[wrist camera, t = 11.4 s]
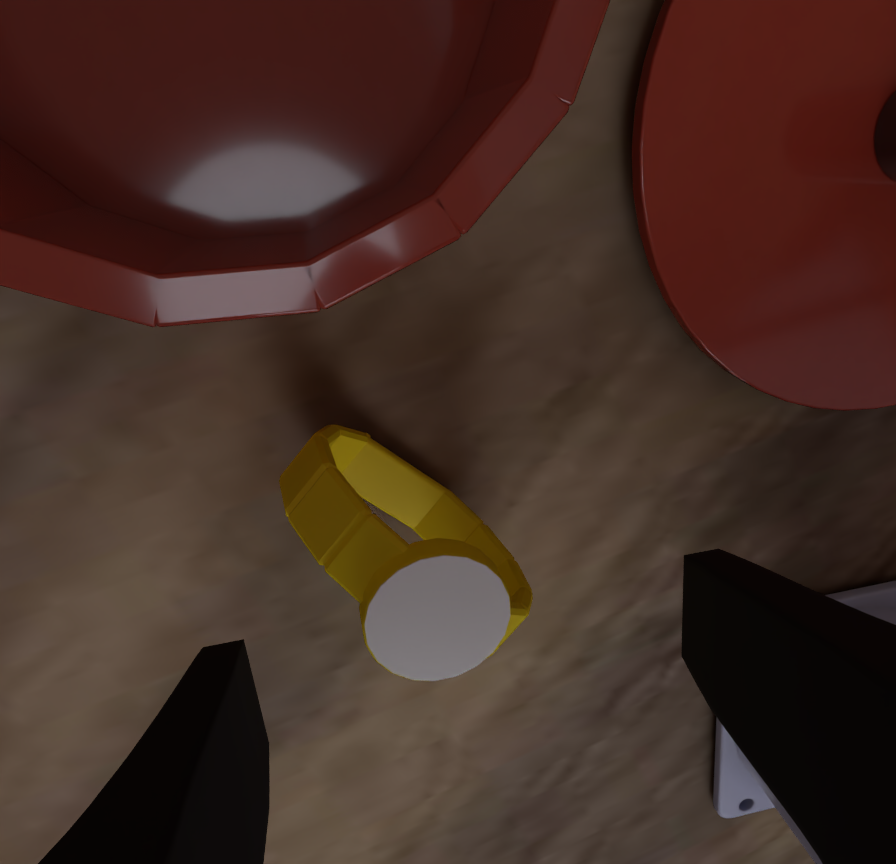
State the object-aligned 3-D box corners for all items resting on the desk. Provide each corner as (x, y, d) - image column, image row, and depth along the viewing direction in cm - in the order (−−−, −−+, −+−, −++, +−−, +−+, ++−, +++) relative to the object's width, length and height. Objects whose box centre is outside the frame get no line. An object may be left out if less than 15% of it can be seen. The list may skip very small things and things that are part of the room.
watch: (263, 460, 18) (244, 594, 12) (333, 372, 17) (344, 471, 12) (449, 579, 20) (503, 739, 14) (515, 503, 20) (596, 639, 14)
